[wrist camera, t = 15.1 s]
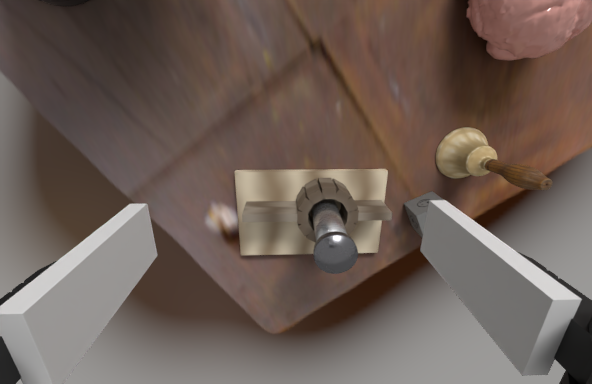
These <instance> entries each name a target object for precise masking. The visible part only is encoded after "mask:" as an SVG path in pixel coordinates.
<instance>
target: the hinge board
mask: <svg viewBox="0 0 592 384" xmlns="http://www.w3.org/2000/svg"><path fill="white" fill-rule="evenodd" d="M387 175H388V171H387V170H386V169H315V170H236V171H235V184H236V197H237V210H238V223H239V236H240V250H241V255H283V254H314V253H313V249H314V245H315V243H316V237H315V230H314V223H313V216H312V209H311V208H312V207H313V205H314V204H315V203H317V202H319V201H321V200H323V199H335V202H336V205H337V207H338V210H339V213H340V216H341V218H342V221H343V224H344V227H345V230H346V232H347V235H349V236H350V237H351V238H352V239H353V240H354V242H355V244H356V247H357V250H358V253H378V247H379V239H380V231H381V223H382V220H391V218H392V212H391V211H390V210H389V208H388V207H387V206H386V205H385V204H384V199H385V191H386V183H387Z"/></svg>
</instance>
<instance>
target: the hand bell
mask: <svg viewBox="0 0 592 384" xmlns="http://www.w3.org/2000/svg"><path fill="white" fill-rule="evenodd" d="M436 164H437V167H438V169H439V170H440V172H441V173H442V174H444V175H445V176H447V177H450V178H463V177H467V176H469V175H474V176H482V175H485V174H487V173H489V172H490V171H491V172H494V173H497V174H500V175H502V176H503V177H504V178H505V179H506V180H507V181H508V182H510V183H511V184H513V185H515V186H518V187H521V188H525V189H540V190H548V189H549V188H550V187H551V186H552V181H551V180H550V179H548V178H547V177H546V176H544V175H543V174H542V173H541V172H540V171H538V170H537V169H535V168H533V167H530V166H526V165H522V164H506V163H503V162H501V161H498V160H497V154H496V152H495V150H494V149H493V148H491V147H489V146H488V142H487V139H486V137H485V136H484V134H483V133H482V132H481V131H479V130H477V129H475V128H471V127H464V128H459V129H456V130H454V131H452V132H450V133H449V134H448V135H447V136H445V137H444V139H443V140H442V141H441V143H440V144H439V146H438V148H437V151H436Z"/></svg>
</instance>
